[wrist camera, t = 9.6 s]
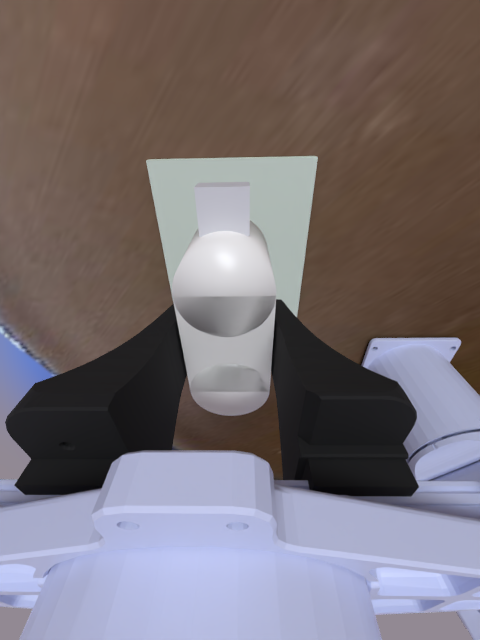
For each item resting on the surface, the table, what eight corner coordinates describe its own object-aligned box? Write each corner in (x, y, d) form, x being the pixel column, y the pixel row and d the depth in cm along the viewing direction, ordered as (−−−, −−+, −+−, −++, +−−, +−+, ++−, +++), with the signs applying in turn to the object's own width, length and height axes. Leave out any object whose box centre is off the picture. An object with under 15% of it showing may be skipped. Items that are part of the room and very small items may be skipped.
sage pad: (294, 319, 23) (295, 324, 22) (179, 320, 23) (177, 325, 22) (314, 156, 16) (317, 156, 15) (150, 159, 16) (146, 160, 15)
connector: (262, 359, 16) (267, 415, 13) (204, 359, 16) (195, 415, 13) (271, 175, 10) (283, 194, 7) (181, 177, 10) (153, 196, 7)
